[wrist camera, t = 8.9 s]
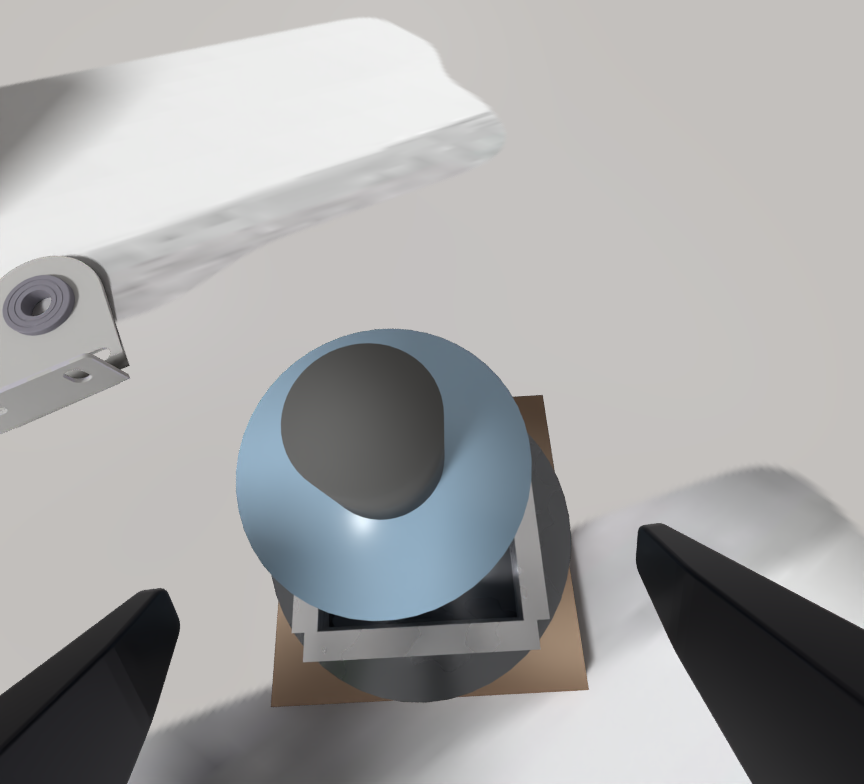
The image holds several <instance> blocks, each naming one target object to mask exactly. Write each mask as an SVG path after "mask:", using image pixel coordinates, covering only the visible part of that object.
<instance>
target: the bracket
mask: <svg viewBox="0 0 864 784" xmlns="http://www.w3.org/2000/svg"><path fill="white" fill-rule="evenodd" d="M49 297H51V304H50V306H49V308H48V309H47V310H46V311H45V312H44V313H42V314H40V315H37V316H32V310H33V308H34V306H35V305H36V304H37V303H38V302H39V301H41V300H43V299H45V298H49ZM105 349H109V350H110V356H109V357H108V359H107V360H105V361H103V360H102V359H100V358H98V357H96V356H94V355H93V354H95V353H98V352H100V351H102V350H105ZM128 366H130V365H129V362H128V359H127V356H126V353H125V350H124V347H123V344H122V341H121V338H120V335H119V332H118V329H117V326H116V323H115V322H114V318H113V314H112V311H111V308H110V305H109V302H108V299H107V295H106V292H105V289H104V286H103V284H102V281H101V279H100V278H99V276H98V275H97V273H96V272H95V271H94V270H93V269H91V268H90V267H89V266H88V265H86V264H85V263H83V262H81V261H79V260H77V259H74V258H70V257H65V256H48V257H42V258H38V259H34V260H31V261H28V262H26V263H24V264H22V265H20V266H18V267H16V268H14V269H13V270H11V271H10V272H8V273H7V274H6V275H5V276H3V277H2V278H1V279H0V434H3V433H5V432H7V431H10V430H12V429H14V428H18V427H21V426H23V425H25V424H27V423H30V422H32V421H35V420H36V419H39V418H41V417H44V416H46V415H48V414H51V413H53V412H55V411H58V410H60V409H62V408H64V407H67V406H69V405H71V404H74V403H76V402H78V401H81V400H83V399H85V398H88V397H90V396H92V395H94V394H97V393H99V392H101V391H104V390H106V389H108V388H111V387H113V386H115V385H117V384H120V382H123V381H125V380H127V379H129V378H130V377H129V375H128V374H127V373H125V372H123V371H121V369H123V368H126V367H128Z"/></svg>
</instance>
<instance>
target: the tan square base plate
mask: <svg viewBox="0 0 864 784" xmlns="http://www.w3.org/2000/svg"><path fill="white" fill-rule="evenodd" d="M513 399H514V401H515V402H516V404H517V406H518V408H519V411H520V413H521V416H522V418H523V420H524V423H525V427H526V430H527V434H528V438H529V443H530V451H531V459H532V467H531V485H530V492H529V499H528V502H527V506H526V509H525V513H524V516H523V519H522V521H521V524H520V526H519V528H518V530H517V533H516V535H515V537H514V539H513V540H512V542H511V544H510V545H509V547H508V549H507V550H506V552H505V553H504V555H503V556H502V557H501V559H500V560H499V561H498V562H497V564H496V565H495V566H494V567H493V568H492V570H491V571H490V572H489V573H488V574H487V575H486V576H485V577H484V578H482V579H481V580H480V581H479V582H478V583H477V584H476V585H475V586H474V587H472V588H471V589H469V590H468V591H467V592H465V593H464V594H462V595H461V596H459V597H458V598H457V599H455V600H453V601H451V602H449V603H447V604H445V605H443V606H441V607H439V608H437V609H435V610H432V611H429V612H426V613H423V614H420V615H417V616H413V617H408V618H402V619H397V620H384V621H367V620H358V619H349V618H346V617H342V616H338V615H334V614H330V613H328V612H325V611H323V610H321V609H318V608H316V607H314V606H311V605H309V604H308V603H306V602H304V601H303V600H301V599H300V598H298V597H296V596H295V595H293V594H292V593H290V592H289V591H288V590H287V589H286V588H285V587H284V586H282V585H281V584H280V583H279V582H278V581H277V580H276V579H275V578H274V577H273V576H272V579H273V583H274V588H275V592H276V596H277V598H278V615H277V616H278V617H277V630H276V644H275V657H274V671H273V684H272V698H271V707H281V706H300V705H318V704H337V703H355V702H374V701H393V700H396V701H401V702H433V701H440V700H448V699H452V698H455V697H467V696H485V695H504V694H522V693H541V692H559V691H578V690H589V688H588V682H587V675H586V669H585V662H584V656H583V650H582V643H581V637H580V631H579V624H578V618H577V611H576V605H575V599H574V592H573V586H572V579H571V573H570V567H569V563H570V553H571V532H570V522H569V514H568V510H567V506H566V502H565V497H564V494H563V491H562V488H561V486H560V483H559V481H558V478H557V476H556V474H555V471H554V465H553V459H552V453H551V445H550V439H549V433H548V426H547V420H546V414H545V407H544V401H543V395H536V396H519V397H513Z"/></svg>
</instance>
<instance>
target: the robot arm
mask: <svg viewBox="0 0 864 784" xmlns="http://www.w3.org/2000/svg"><path fill="white" fill-rule="evenodd" d="M636 565H637V569H638V572H639V574H640V576H641V579H642V581H643V583H644V585H645V587H646V590H647V592H648V594H649V596H650V598H651V600H652V603H653V605H654V607H655V609H656V611H657V614H658V616H659V618H660V620H661V622H662V624H663V627H664V629H665V631H666V633H667V635H668V638H669V640H670V642H671V644H672V646H673V648H674V650H675V652H676V653H677V655H678V657H679V659H680V661H681V663H682V664H683V666H684V668H685V669H686V671H687V673H688V675H689V676H690V678H691V680H692V681H693V683H694V685H695V687H696V688H697V690H698V692H699V693H700V695H701V697H702V699H703V700H704V702H705V704H706V705H707V707H708V709H709V711H710V712H711V714H712V716H713V717H714V719H715V721H716V723H717V724H718V726H719V728H720V729H721V731H722V733H723V735H724V736H725V738H726V740H727V741H728V743H729V745H730V747H731V748H732V750H733V752H734V753H735V755H736V757H737V759H738V760H739V762H740V764H741V765H742V767H743V769H744V770H745V772H746V774H747V776H748V777H749V779H750V781H751V782H752V784H864V629H862V628H860V627H858V626H857V625H855V624H853V623H851V622H849V621H847V620H845V619H843V618H841V617H839V616H838V615H836V614H834V613H832V612H830V611H828V610H826V609H824V608H822V607H820V606H819V605H817V604H815V603H813V602H811V601H809V600H807V599H805V598H803V597H801V596H800V595H798V594H796V593H794V592H792V591H790V590H788V589H786V588H784V587H782V586H781V585H779V584H777V583H775V582H773V581H771V580H769V579H767V578H765V577H764V576H762V575H760V574H758V573H756V572H754V571H752V570H750V569H748V568H746V567H745V566H743V565H741V564H739V563H737V562H735V561H733V560H731V559H729V558H727V557H726V556H724V555H722V554H720V553H718V552H716V551H714V550H712V549H710V548H708V547H707V546H705V545H703V544H701V543H699V542H697V541H695V540H693V539H691V538H689V537H688V536H686V535H684V534H682V533H680V532H678V531H676V530H674V529H672V528H670V527H669V526H667V525H664V524H662V523H656V524H648V525H643V526H641V527H640V528H639V530H638V537H637V550H636ZM179 631H180V621H179V618H178V615H177V613H176V610H175V608H174V606H173V603H172V601H171V599H170V596H169V594H168V592H167V591H166V590H165V589H162V588H157V589H150V590H144V591H140V592H138V593H137V594H135V595H134V596H133V597H131V598H130V599H129V600H127V601H126V602H125V603H123V604H122V605H121V606H119V607H118V608H116V609H115V610H114V611H113V612H111V613H110V614H109V615H107V616H106V617H105V618H103V619H102V620H100V621H99V622H98V623H97V624H95V625H94V626H92V627H91V628H90V629H88V630H87V631H86V632H84V633H83V634H82V635H80V636H79V637H78V638H76V639H75V640H74V641H72V642H71V643H70V644H68V645H67V646H66V647H64V648H63V649H62V650H60V651H59V652H58V653H56V654H55V655H54V656H52V657H51V658H50V659H48V660H47V661H46V662H44V663H43V664H42V665H40V666H39V667H38V668H36V669H35V670H34V671H32V672H31V673H30V674H28V675H27V676H26V677H25V678H23V679H22V680H20V681H19V682H17V683H16V684H15V685H13V686H12V687H11V688H9V689H8V690H7V691H6V692H4V693H3V694H1V695H0V784H127V783H128V780H129V778H130V775H131V773H132V771H133V768H134V766H135V763H136V761H137V758H138V756H139V753H140V751H141V748H142V746H143V743H144V741H145V738H146V736H147V733H148V731H149V728H150V725H151V723H152V720H153V717H154V714H155V711H156V708H157V704H158V702H159V698H160V695H161V692H162V688H163V685H164V682H165V678H166V675H167V672H168V668H169V665H170V662H171V658H172V655H173V652H174V649H175V645H176V642H177V639H178V636H179Z"/></svg>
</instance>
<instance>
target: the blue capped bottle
mask: <svg viewBox="0 0 864 784" xmlns="http://www.w3.org/2000/svg"><path fill="white" fill-rule="evenodd" d="M531 467H532V459H531V451H530V443H529V438H528V434H527V430H526V427H525V423H524V420H523V418H522V416H521V413H520V411H519V408H518V406H517V404H516V402H515V401H514V399H513V397H512V396H511V394H510V392H509V390H508V389H507V388H506V386H505V385H504V384H503V383H502V381H501V380H500V378H499V377H498V376H497V375H496V374H495V373H494V372H493V371H492V370H491V369H490V368H489V367H488V366H487V365H486V364H485V363H484V362H482V361H481V360H480V359H478V358H477V357H476V356H475V355H473V354H472V353H470V352H469V351H467V350H465V349H464V348H462V347H460V346H458V345H457V344H455V343H452V342H450V341H448V340H446V339H443V338H441V337H437V336H434V335H431V334H428V333H423V332H418V331H413V330H404V329H375V330H370V331H363V332H358V333H354V334H350V335H347V336H343V337H340V338H338V339H335V340H333V341H330V342H328V343H326V344H324V345H322V346H320V347H318V348H316V349H314V350H312V351H311V352H309V353H308V354H306V355H305V356H303V357H302V358H301V359H299V360H298V361H296V362H295V363H294V364H293V365H291V366H290V367H289V368H288V369H287V370H286V371H285V372H284V373H282V374H281V376H280V377H279V378H278V379H277V380H276V381H275V382H274V383H273V384H272V385H271V387H270V388H269V389H268V390H267V392H266V393H265V395H264V396H263V397H262V399H261V400H260V402H259V403H258V405H257V407H256V409H255V411H254V412H253V414H252V416H251V418H250V420H249V423H248V426H247V428H246V430H245V433H244V435H243V439H242V443H241V447H240V450H239V455H238V462H237V470H236V494H237V501H238V508H239V513H240V516H241V520H242V524H243V528H244V531H245V533H246V535H247V537H248V540H249V542H250V544H251V546H252V548H253V550H254V552H255V553H256V554H257V556H258V558H259V559H260V561H261V563H262V564H263V566H264V567H265V568H266V569H267V570H268V571H269V572H270V573H271V575H272V576H273V577H274V578H275V579H276V580H277V581H278V582H279V583H280V584H281V585H282V586H284V587H285V588H286V589H287V590H288V591H289V592H290V593H292V594H293V595H295V596H296V597H298V598H300V599H301V600H303V601H304V602H306V603H308V604H309V605H311V606H314V607H316V608H318V609H321V610H323V611H325V612H328V613H330V614H334V615H338V616H342V617H346V618H349V619H358V620H367V621H384V620H397V619H402V618H408V617H413V616H417V615H420V614H423V613H426V612H429V611H432V610H435V609H437V608H439V607H441V606H443V605H445V604H447V603H449V602H451V601H453V600H455V599H457V598H458V597H459V596H461V595H462V594H464V593H465V592H467V591H468V590H469V589H471V588H472V587H474V586H475V585H476V584H477V583H478V582H479V581H480V580H481V579H482V578H484V577H485V576H486V575H487V574H488V573H489V572H490V571H491V570H492V568H493V567H494V566H495V565H496V564H497V562H498V561H499V560H500V559H501V557H502V556H503V555H504V553H505V552H506V550H507V549H508V547H509V545H510V544H511V542H512V540H513V539H514V537H515V535H516V533H517V530H518V528H519V526H520V524H521V521H522V519H523V516H524V513H525V509H526V506H527V502H528V499H529V492H530V485H531Z"/></svg>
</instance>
